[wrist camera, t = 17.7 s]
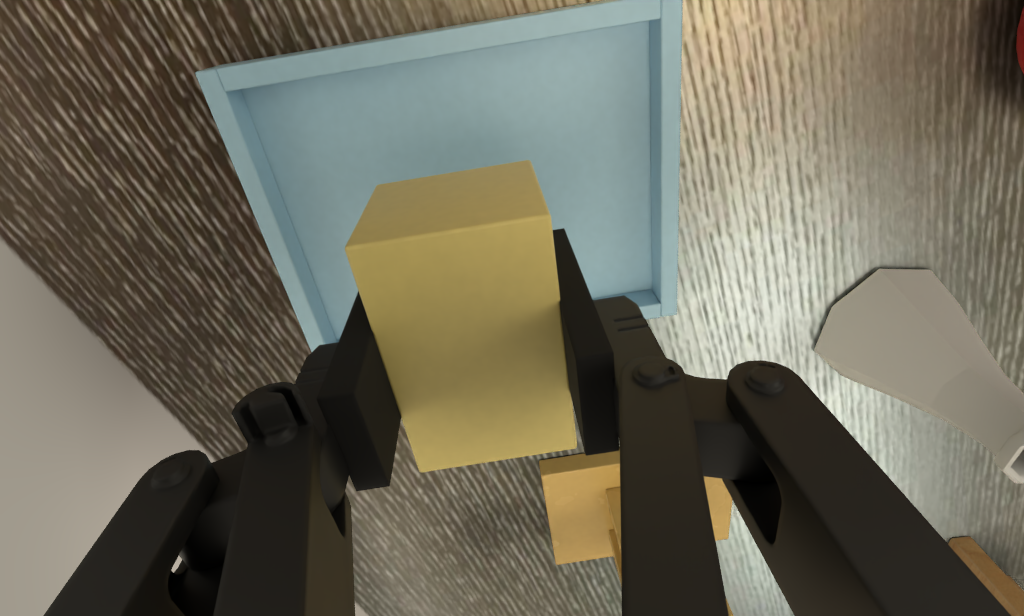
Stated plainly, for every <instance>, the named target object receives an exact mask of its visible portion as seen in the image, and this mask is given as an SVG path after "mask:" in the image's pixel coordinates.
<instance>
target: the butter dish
mask: <svg viewBox="0 0 1024 616" xmlns="http://www.w3.org/2000/svg"><path fill="white" fill-rule="evenodd" d="M681 56H682V0H602V1H596V2H590V3H584V4H578V5H573V6H567V7H561V8H555V9H549V10H543V11H537V12H531V13H525V14H519V15H513V16H507V17H501V18H496V19H490V20H484V21H478V22H472V23H466V24H460V25H454V26H448V27H442V28H436V29H430V30H424V31H419V32H413V33H407V34H401V35H395V36H389V37H383V38H377V39H371V40H365V41H359V42H353V43H347V44H341V45H336V46H330V47H324V48H318V49H312V50H306V51H300V52H294V53H288V54H282V55H276V56H270V57H264V58H259V59H253V60H247V61H241V62H235V63H229V64H223V65H218V66H215V67H211V68H208V69H204V70H200V71H197V72H196V73H195V74H196V77H197V79H198V82H199V84H200V87H201V89H202V91H203V94H204V96H205V98H206V101H207V103H208V106H209V108H210V110H211V113H212V115H213V118H214V120H215V122H216V125H217V127H218V130H219V132H220V134H221V137H222V139H223V142H224V144H225V146H226V149H227V151H228V153H229V156H230V158H231V161H232V163H233V165H234V168H235V170H236V173H237V175H238V177H239V180H240V182H241V185H242V187H243V189H244V192H245V194H246V197H247V199H248V201H249V204H250V206H251V208H252V211H253V213H254V216H255V218H256V220H257V223H258V225H259V228H260V230H261V232H262V235H263V237H264V240H265V242H266V244H267V247H268V249H269V252H270V254H271V256H272V259H273V261H274V263H275V266H276V268H277V271H278V273H279V275H280V278H281V280H282V283H283V285H284V287H285V290H286V292H287V295H288V297H289V299H290V302H291V304H292V307H293V309H294V311H295V314H296V316H297V318H298V321H299V323H300V326H301V328H302V330H303V333H304V335H305V338H306V340H307V342H308V345H309V347H310V350H311V352H313V351H314V350H315V349H316V348H317V347H318V346H319V345H323V344H330V343H336V342H339V340H340V337H341V334H342V332H343V329H344V327H345V324H346V322H347V319H348V316H349V314H350V311H351V309H352V306H353V304H354V301H355V298H356V296H357V293H358V288H357V285H356V282H355V279H354V276H353V273H352V270H351V267H350V264H349V261H348V258H347V255H346V252H345V246H346V244H347V242H348V240H349V238H350V236H351V234H352V232H353V231H354V229H355V227H356V225H357V223H358V221H359V219H360V217H361V215H362V213H363V211H364V209H365V207H366V205H367V203H368V201H369V199H370V197H371V195H372V193H373V191H374V189H375V187H376V186H377V185H379V184H385V183H391V182H397V181H403V180H409V179H415V178H421V177H427V176H433V175H439V174H445V173H451V172H458V171H464V170H470V169H476V168H482V167H488V166H494V165H500V164H506V163H512V162H518V161H524V160H530V161H531V163H532V166H533V168H534V171H535V174H536V177H537V179H538V182H539V185H540V188H541V190H542V193H543V196H544V199H545V201H546V204H547V207H548V210H549V212H550V215H551V221H552V230H556V229H563V228H564V229H565V231H566V234H567V237H568V239H569V242H570V244H571V247H572V249H573V252H574V254H575V257H576V259H577V262H578V264H579V267H580V269H581V272H582V274H583V277H584V279H585V282H586V284H587V287H588V289H589V292H590V294H591V297H592V299H593V300H598V299H604V298H610V297H617V296H623V295H624V296H626V297H627V298H629V299H630V300H632V301H633V302H635V303H636V304H637V305H638V307H639V308H640V310H641V312H642V314H643V317H644V318H645V320H647V319H653V318H660V317H664V316H671V315H676V314H677V279H678V223H679V167H680V111H681Z"/></svg>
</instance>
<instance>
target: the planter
mask: <svg viewBox="0 0 1024 616" xmlns="http://www.w3.org/2000/svg"><path fill="white" fill-rule="evenodd" d="M948 545H949V546H950V547H951V548H952V549H953V551H954V552H955V553H956V554H957V555H958V556H959V557H960V558H961V560H962V561H963V562H964V563H965V564H966V565H967V566H968V567H969V569H970V570H971V571H972V572H973V573H974V574H975V575H976V576H977V578H978V579H979V580H980V581H981V582H982V583H983V584H984V585H985V587H986V588H987V589H988V590H989V591H990V592H991V593H992V594H993V596H994V597H995V598H996V599H997V600H998V601H999V602H1000V604H1001V605H1002V606H1003V607H1004V608H1005V609H1006V610H1007V611H1008V613H1009V614H1010V615H1011V616H1024V591H1023V590H1022V589H1021V588H1020V587H1019V586H1018V585H1017V583H1016V582H1015V581H1014V580H1013V579H1012V578H1011V577H1010V576H1006V575H1005V574H1004V573H1003V571H1002V570H1001V569H1000V568H999V567H998V566H997V565H996V564H995V563H994V562H993V561H992V560H991V558H990V557H989V556H988V555H987V554H986V553H985V552H984V551H983V550H982V549H981V548H980V547H979V545H978V544H977V543H976V542H975V541H974V540H973V539H972V538H971V537H958V538H951V540H950V541H949V543H948Z"/></svg>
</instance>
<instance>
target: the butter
mask: <svg viewBox="0 0 1024 616" xmlns="http://www.w3.org/2000/svg"><path fill="white" fill-rule="evenodd" d="M345 252H346V255H347V258H348V261H349V264H350V267H351V270H352V273H353V276H354V279H355V282H356V285H357V288H358V291H359V294H360V297H361V300H362V303H363V306H364V308H365V311H366V314H367V317H368V320H369V323H370V326H371V329H372V332H373V335H374V337H375V340H376V343H377V346H378V349H379V352H380V355H381V358H382V361H383V364H384V367H385V370H386V373H387V376H388V379H389V382H390V385H391V388H392V391H393V394H394V397H395V400H396V403H397V406H398V409H399V412H400V415H401V418H402V421H403V424H404V427H405V430H406V433H407V436H408V439H409V442H410V445H411V448H412V451H413V454H414V457H415V460H416V463H417V466H418V469H419V471H420V472H427V471H433V470H440V469H446V468H453V467H459V466H466V465H472V464H479V463H485V462H492V461H498V460H504V459H511V458H517V457H524V456H530V455H537V454H543V453H550V452H556V451H563V450H569V449H575V448H576V447H577V440H576V431H575V422H574V414H573V405H572V398H571V394H570V389H569V380H568V372H567V363H566V355H565V346H564V337H563V329H562V320H561V311H560V303H559V301H560V291H559V282H558V274H557V265H556V256H555V248H554V239H553V230H552V221H551V215H550V212H549V210H548V207H547V204H546V201H545V199H544V196H543V193H542V190H541V188H540V185H539V182H538V179H537V177H536V174H535V171H534V168H533V166H532V163H531V161H530V160H524V161H518V162H512V163H506V164H500V165H494V166H488V167H482V168H476V169H470V170H464V171H458V172H451V173H445V174H439V175H433V176H427V177H421V178H415V179H409V180H403V181H397V182H391V183H385V184H379V185H377V186H376V187H375V189H374V191H373V193H372V195H371V197H370V199H369V201H368V203H367V205H366V207H365V209H364V211H363V213H362V215H361V217H360V219H359V221H358V223H357V225H356V227H355V229H354V231H353V232H352V234H351V236H350V238H349V240H348V242H347V244H346V246H345Z"/></svg>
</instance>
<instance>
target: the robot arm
mask: <svg viewBox="0 0 1024 616" xmlns="http://www.w3.org/2000/svg"><path fill="white" fill-rule="evenodd" d="M553 239H554V248H555V256H556V265H557V274H558V282H559V291H560V301H559V303H560V311H561V320H562V329H563V337H564V346H565V355H566V363H567V372H568V380H569V389H570V394H571V398H572V402H573V406H574V410H575V414H576V418H577V422H578V426H579V430H580V434H581V438H582V442H583V447H584V451H585V455H586V456H588V455H595V454H601V453H608V452H614V451H619V439H620V504H621V573H622V616H729V614H728V608H727V603H726V597H725V592H724V586H723V581H722V575H721V570H720V564H719V558H718V553H717V547H716V542H715V536H714V531H713V525H712V520H711V514H710V509H709V503H708V498H707V492H706V487H705V481H704V476H705V477H713V478H722V481H723V483H724V484H725V486H726V488H727V490H728V492H729V494H730V496H731V497H732V499H733V501H734V503H735V505H736V507H737V509H738V511H739V512H740V514H741V516H742V518H743V520H744V522H745V524H746V525H747V527H748V529H749V531H750V533H751V535H752V537H753V539H754V540H755V542H756V544H757V546H758V548H759V550H760V552H761V553H762V555H763V557H764V559H765V561H766V563H767V565H768V567H769V568H770V570H771V572H772V574H773V576H774V578H775V580H776V581H777V583H778V585H779V587H780V589H781V591H782V593H783V595H784V596H785V598H786V600H787V602H788V604H789V606H790V608H791V609H792V611H793V613H794V615H795V616H1011V615H1010V614H1009V613H1008V611H1007V610H1006V609H1005V608H1004V607H1003V606H1002V605H1001V604H1000V602H999V601H998V600H997V599H996V598H995V597H994V596H993V594H992V593H991V592H990V591H989V590H988V589H987V588H986V587H985V585H984V584H983V583H982V582H981V581H980V580H979V579H978V578H977V576H976V575H975V574H974V573H973V572H972V571H971V570H970V569H969V567H968V566H967V565H966V564H965V563H964V562H963V561H962V560H961V558H960V557H959V556H958V555H957V554H956V553H955V552H954V551H953V549H952V548H951V547H950V546H949V545H948V544H947V543H946V542H945V540H944V539H943V538H942V537H941V536H940V535H939V534H938V532H937V531H936V530H935V529H934V528H933V527H932V526H931V525H930V523H929V522H928V521H927V520H926V519H925V518H924V517H923V516H922V514H921V513H920V512H919V511H918V510H917V509H916V508H915V507H914V505H913V504H912V503H911V502H910V501H909V500H908V499H907V498H906V496H905V495H904V494H903V493H902V492H901V491H900V490H899V489H898V487H897V486H896V485H895V484H894V483H893V482H892V481H891V480H890V478H889V477H888V476H887V475H886V474H885V473H884V472H883V470H882V469H881V468H880V467H879V466H878V465H877V464H876V463H875V461H874V460H873V459H872V458H871V457H870V456H869V455H868V454H867V452H866V451H865V450H864V449H863V448H862V447H861V446H860V445H859V443H858V442H857V441H856V440H855V439H854V438H853V437H852V436H851V434H850V433H849V432H848V431H847V430H846V429H845V428H844V427H843V425H842V424H841V423H840V422H839V421H838V420H837V419H836V418H835V416H834V415H833V414H832V413H831V412H830V411H829V410H828V408H827V407H826V406H825V405H824V404H823V403H822V402H821V401H820V399H819V398H818V397H817V396H816V395H815V394H814V393H813V392H812V390H811V389H810V388H809V387H808V386H807V385H806V384H805V383H804V381H803V380H802V379H801V378H800V377H799V376H798V375H797V374H796V373H794V372H793V371H792V370H790V369H789V368H787V367H785V366H782V365H780V364H777V363H773V362H767V361H747V362H744V363H741V364H738V365H736V366H735V367H734V368H733V369H731V370H730V372H729V375H728V378H727V380H723V379H707V378H699V377H694V376H691V375H687V374H685V373H684V371H683V369H682V367H681V366H679V365H678V364H677V363H675V362H674V361H672V360H670V359H667V358H666V357H665V355H664V353H663V351H662V349H661V347H660V346H659V344H658V342H657V340H656V338H655V336H654V334H653V333H652V331H651V329H650V327H648V323H647V321H646V320H645V318H644V317H643V314H642V312H641V310H640V308H639V307H638V305H637V304H636V303H635V302H633V301H632V300H630V299H629V298H627V297H626V296H624V295H623V296H617V297H610V298H604V299H598V300H593V299H592V297H591V294H590V292H589V289H588V287H587V284H586V282H585V279H584V277H583V274H582V272H581V269H580V267H579V264H578V262H577V259H576V257H575V254H574V252H573V249H572V247H571V244H570V242H569V239H568V237H567V234H566V231H565V229H564V228H563V229H556V230H553ZM295 382H296V384H292V383H287V382H279V383H273V384H268V385H266V386H263V387H261V388H258V389H256V390H254V391H253V392H251V393H249V394H248V395H246V396H245V397H244V398H243V399H241V400H240V401H239V402H238V403H237V404H236V406H235V408H234V409H233V411H232V415H233V417H234V419H235V421H236V422H237V424H238V426H239V428H240V430H241V431H242V433H243V435H244V437H245V439H246V440H247V442H248V446H247V449H246V450H244V451H241V452H239V453H237V454H234V455H231V456H229V457H226V458H224V459H221V460H218V461H216V462H213V463H211V462H210V461H209V459H208V457H207V456H206V454H204V453H202V452H201V451H199V450H188V451H184V452H180V453H176V454H174V455H171V456H169V457H168V458H165V459H163V460H161V461H160V462H159V463H157V464H156V465H154V466H153V467H152V468H150V469H149V470H148V471H147V472H146V473H145V474H144V475H143V476H142V478H141V479H140V480H139V481H138V483H137V484H136V485H135V487H134V488H133V490H132V491H131V492H130V494H129V495H128V497H127V498H126V500H125V501H124V502H123V504H122V505H121V507H120V508H119V509H118V511H117V512H116V514H115V515H114V517H113V518H112V519H111V521H110V522H109V524H108V525H107V527H106V528H105V529H104V531H103V532H102V534H101V535H100V537H99V538H98V539H97V541H96V542H95V543H94V545H93V546H92V548H91V549H90V551H89V552H88V553H87V555H86V556H85V558H84V559H83V560H82V562H81V563H80V565H79V566H78V568H77V569H76V571H75V572H74V573H73V575H72V576H71V578H70V579H69V580H68V582H67V583H66V585H65V586H64V588H63V589H62V590H61V592H60V593H59V595H58V596H57V597H56V599H55V600H54V602H53V603H52V604H51V606H50V607H49V609H48V610H47V612H46V613H45V614H44V616H355V605H354V604H355V602H354V575H353V548H352V521H351V505H350V502H349V499H348V497H347V495H346V492H345V488H346V484H347V481H348V477H349V475H350V478H351V480H352V482H353V484H354V487H355V489H356V491H361V490H367V489H374V488H380V487H387V486H389V485H390V480H391V474H392V468H393V462H394V456H395V450H396V444H397V438H398V432H399V426H400V421H401V415H400V412H399V409H398V406H397V403H396V400H395V397H394V394H393V391H392V388H391V385H390V382H389V379H388V376H387V373H386V370H385V367H384V364H383V361H382V358H381V355H380V352H379V349H378V346H377V343H376V340H375V337H374V335H373V332H372V329H371V326H370V323H369V320H368V317H367V314H366V311H365V308H364V306H363V303H362V300H361V297H360V294H359V291H358V293H357V296H356V298H355V301H354V304H353V306H352V309H351V311H350V314H349V316H348V319H347V322H346V324H345V327H344V329H343V332H342V334H341V337H340V340H339V342H336V343H330V344H323V345H319V346H318V347H317V348H316V349H315V350H314V351H313V352H312V353H311V354H310V355H309V356H308V357H307V358H306V360H305V362H304V364H303V366H302V368H301V373H299V375H298V377H297V379H296V381H295ZM618 436H619V437H618ZM178 555H179V556H180V557H181V558H182V561H181V563H180V565H179V567H178V569H177V570H176V571H175V572H174V573H173V572H172V571H171V569H172V567H173V565H174V563H175V561H176V559H177V557H178Z"/></svg>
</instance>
